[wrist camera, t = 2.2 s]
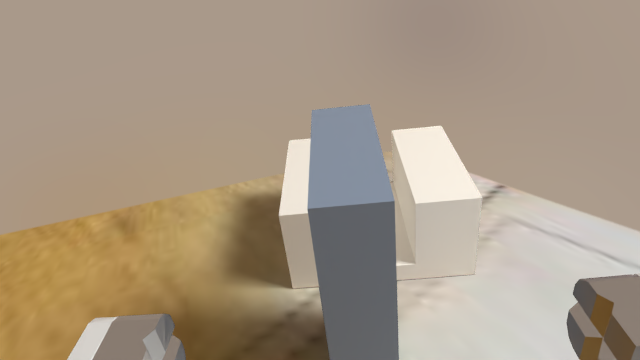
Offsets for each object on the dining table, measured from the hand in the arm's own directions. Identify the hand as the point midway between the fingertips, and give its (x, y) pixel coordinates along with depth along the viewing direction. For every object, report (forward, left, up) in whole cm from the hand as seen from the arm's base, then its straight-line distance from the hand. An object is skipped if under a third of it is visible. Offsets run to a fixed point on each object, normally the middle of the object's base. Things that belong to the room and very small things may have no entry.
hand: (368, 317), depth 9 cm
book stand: (-16, +19, -17) cm, 30 cm away
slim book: (-8, +7, -17) cm, 21 cm away
